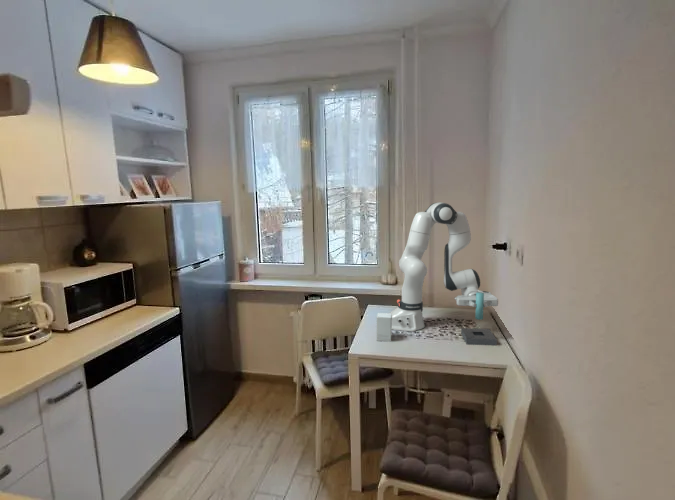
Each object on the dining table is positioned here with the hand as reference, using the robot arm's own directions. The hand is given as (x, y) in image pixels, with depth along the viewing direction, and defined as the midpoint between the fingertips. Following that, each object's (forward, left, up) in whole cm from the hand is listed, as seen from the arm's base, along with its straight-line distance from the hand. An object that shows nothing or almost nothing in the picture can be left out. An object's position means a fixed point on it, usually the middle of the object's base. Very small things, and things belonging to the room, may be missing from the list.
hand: (480, 305), depth 187 cm
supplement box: (-47, -2, -18) cm, 51 cm away
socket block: (0, +1, -18) cm, 18 cm away
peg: (0, +1, -7) cm, 7 cm away
